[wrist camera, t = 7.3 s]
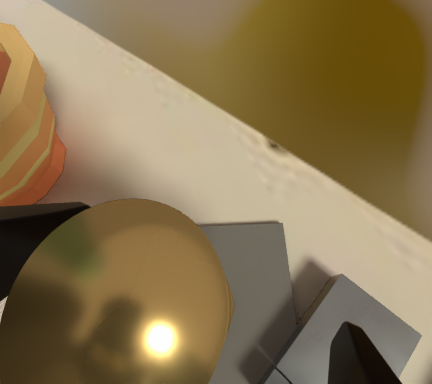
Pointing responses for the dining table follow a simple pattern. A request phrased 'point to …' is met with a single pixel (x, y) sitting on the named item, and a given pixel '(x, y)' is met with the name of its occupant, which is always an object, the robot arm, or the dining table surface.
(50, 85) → the dining table surface
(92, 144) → the dining table surface
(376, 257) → the dining table surface
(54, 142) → the potted cactus
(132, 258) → the brass rod
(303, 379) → the vise
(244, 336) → the rubber mat
